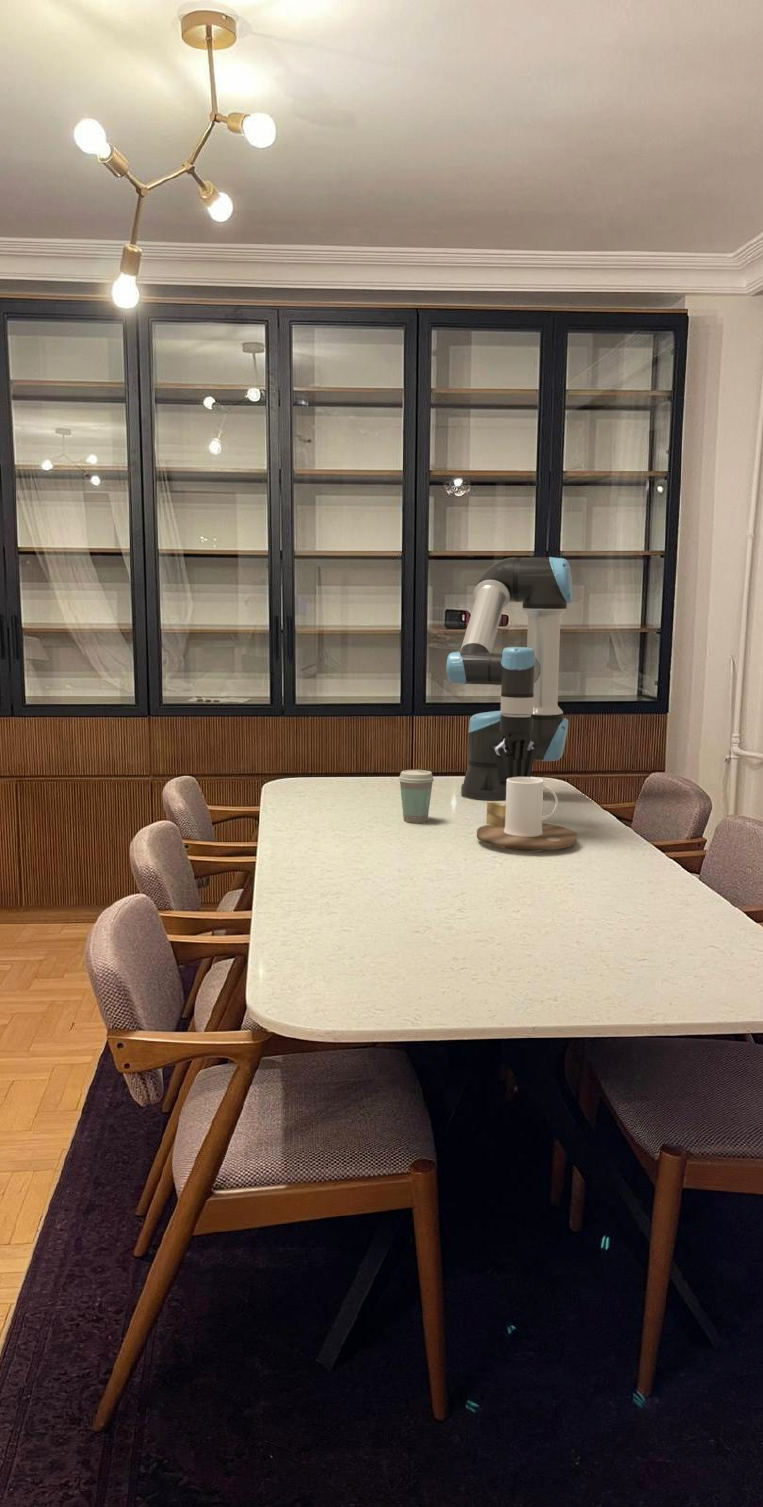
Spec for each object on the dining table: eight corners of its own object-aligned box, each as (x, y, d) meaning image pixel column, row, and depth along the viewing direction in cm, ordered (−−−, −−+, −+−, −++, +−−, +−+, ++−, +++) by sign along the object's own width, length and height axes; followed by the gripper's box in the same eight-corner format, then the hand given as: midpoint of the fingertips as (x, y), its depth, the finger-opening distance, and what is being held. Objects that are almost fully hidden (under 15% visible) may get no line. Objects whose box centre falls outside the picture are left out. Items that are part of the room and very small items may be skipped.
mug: (553, 829, 235) (555, 776, 233) (560, 837, 226) (562, 783, 224) (501, 828, 235) (503, 776, 233) (506, 837, 226) (507, 783, 224)
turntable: (597, 840, 230) (598, 812, 229) (527, 855, 216) (528, 825, 215) (521, 822, 247) (522, 796, 246) (453, 834, 234) (454, 807, 233)
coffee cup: (433, 824, 250) (434, 775, 248) (398, 824, 250) (398, 774, 248) (432, 817, 258) (433, 769, 256) (398, 816, 258) (398, 769, 256)
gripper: (524, 711, 245) (521, 809, 249) (484, 715, 237) (482, 816, 240) (548, 714, 239) (544, 815, 243) (508, 718, 231) (505, 822, 235)
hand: (513, 815), depth 242 cm, fingers closed
